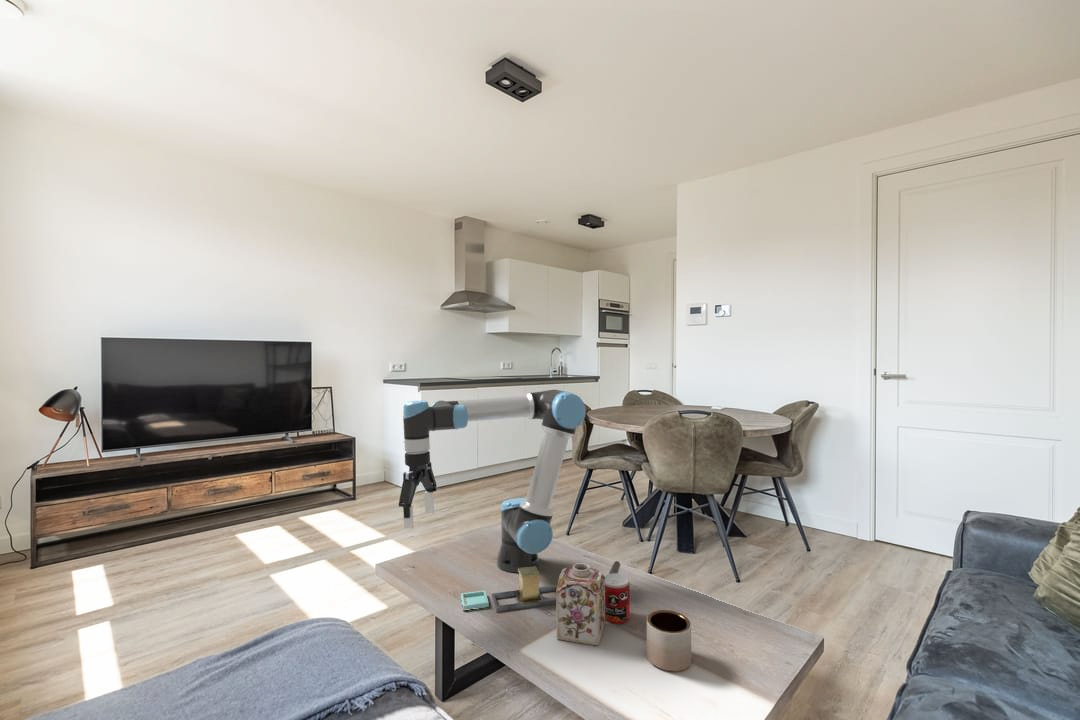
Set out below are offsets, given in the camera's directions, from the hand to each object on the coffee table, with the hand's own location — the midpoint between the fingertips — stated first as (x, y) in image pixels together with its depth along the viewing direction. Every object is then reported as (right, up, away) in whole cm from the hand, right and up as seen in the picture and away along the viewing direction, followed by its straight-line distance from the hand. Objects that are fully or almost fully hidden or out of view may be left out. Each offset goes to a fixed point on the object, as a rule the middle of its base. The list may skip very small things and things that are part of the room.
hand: (419, 519), depth 150 cm
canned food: (+59, -25, -10) cm, 65 cm away
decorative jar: (+49, -25, -17) cm, 57 cm away
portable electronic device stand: (+59, -25, +5) cm, 65 cm away
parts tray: (+17, -25, -2) cm, 30 cm away
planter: (+69, -25, -29) cm, 79 cm away
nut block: (+34, -25, 0) cm, 42 cm away
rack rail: (+34, -25, 0) cm, 42 cm away
